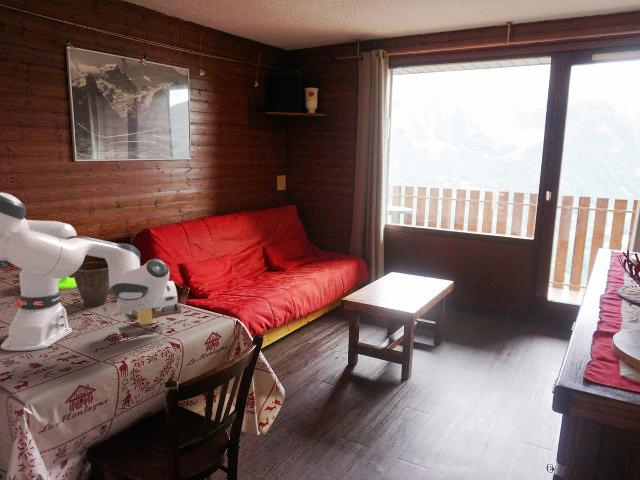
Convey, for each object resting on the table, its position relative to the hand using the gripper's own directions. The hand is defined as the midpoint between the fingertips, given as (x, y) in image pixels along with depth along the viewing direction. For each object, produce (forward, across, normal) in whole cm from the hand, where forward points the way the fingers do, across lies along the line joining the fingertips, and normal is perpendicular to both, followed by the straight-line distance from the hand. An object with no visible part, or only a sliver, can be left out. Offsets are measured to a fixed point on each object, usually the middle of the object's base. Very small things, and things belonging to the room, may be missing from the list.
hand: (144, 310), depth 171 cm
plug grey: (+9, +10, +3) cm, 14 cm away
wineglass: (+54, -20, +46) cm, 73 cm away
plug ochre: (+4, 0, -4) cm, 6 cm away
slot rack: (+10, +6, +2) cm, 12 cm away
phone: (+26, +2, +17) cm, 31 cm away
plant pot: (+28, -12, +20) cm, 37 cm away
